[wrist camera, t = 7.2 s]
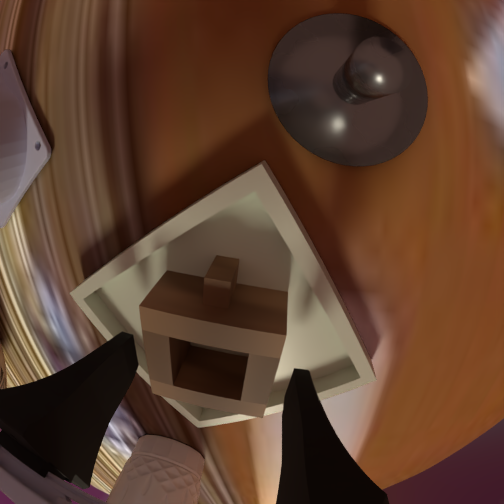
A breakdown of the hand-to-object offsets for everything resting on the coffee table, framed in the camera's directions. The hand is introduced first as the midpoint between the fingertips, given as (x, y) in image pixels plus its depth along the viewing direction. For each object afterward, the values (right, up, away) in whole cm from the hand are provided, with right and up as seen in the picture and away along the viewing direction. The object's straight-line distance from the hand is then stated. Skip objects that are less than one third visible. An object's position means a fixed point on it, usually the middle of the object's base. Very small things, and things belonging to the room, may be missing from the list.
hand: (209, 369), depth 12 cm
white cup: (-6, -14, +11) cm, 19 cm away
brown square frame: (0, +1, +2) cm, 3 cm away
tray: (0, +1, +3) cm, 3 cm away
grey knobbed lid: (+6, +11, -2) cm, 13 cm away
